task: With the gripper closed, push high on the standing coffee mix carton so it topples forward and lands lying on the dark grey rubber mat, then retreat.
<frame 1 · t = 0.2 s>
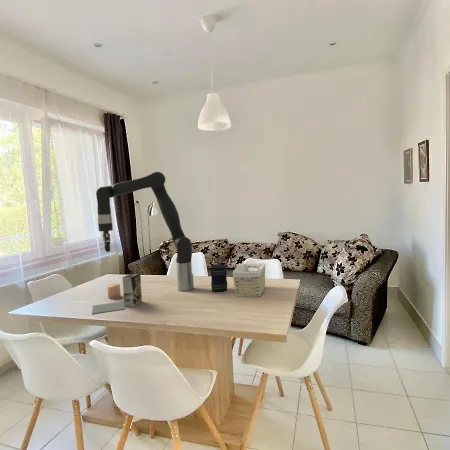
hand: (107, 250, 186), 29 cm above the table, fingers open, 8 cm apart
peach rounded knob: (114, 297, 195), on the table
mat: (108, 307, 175), on the table
storage basket: (250, 291, 193), on the table
coffee box: (133, 304, 180), on the table
storage jar: (219, 290, 199), on the table
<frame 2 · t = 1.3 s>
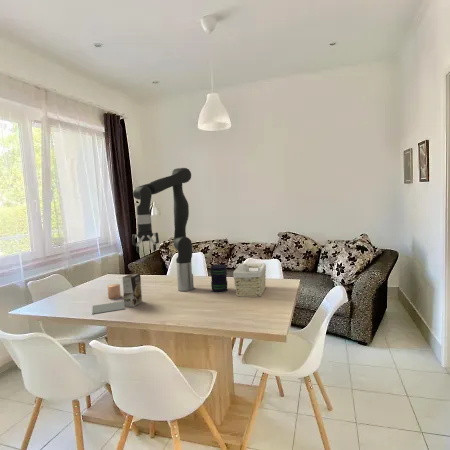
hand: (146, 252, 181), 28 cm above the table, fingers open, 8 cm apart
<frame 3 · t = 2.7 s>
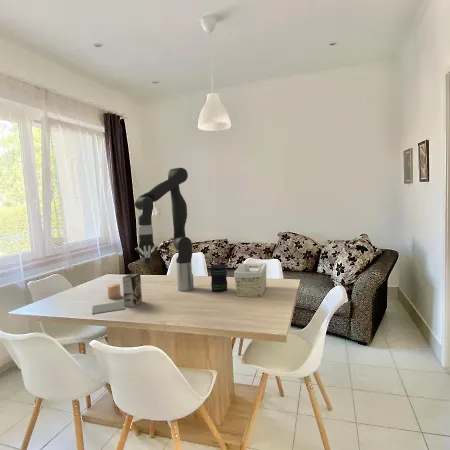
hand: (147, 264, 182), 21 cm above the table, fingers closed
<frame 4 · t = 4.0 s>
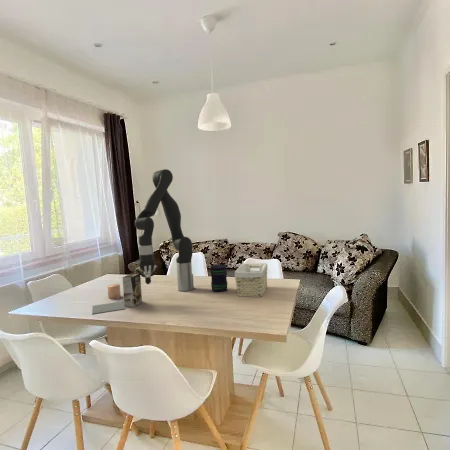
hand: (148, 283, 182), 10 cm above the table, fingers closed
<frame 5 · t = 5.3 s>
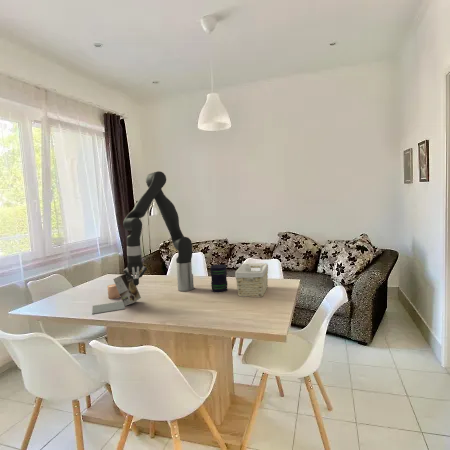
hand: (136, 285, 180), 10 cm above the table, fingers closed
coffee box: (133, 302, 180), point 1 cm above the table
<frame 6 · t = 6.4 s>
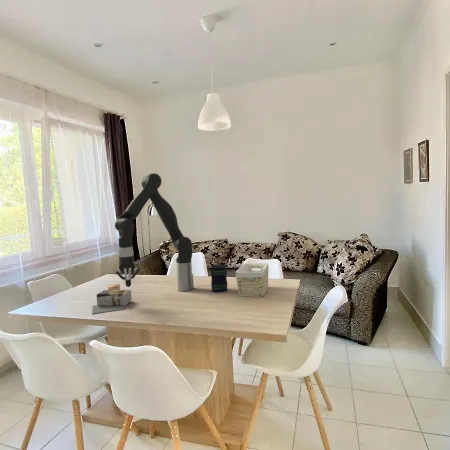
hand: (128, 286, 178), 10 cm above the table, fingers closed
coffee box: (128, 297, 180), point 4 cm above the table, touching mat
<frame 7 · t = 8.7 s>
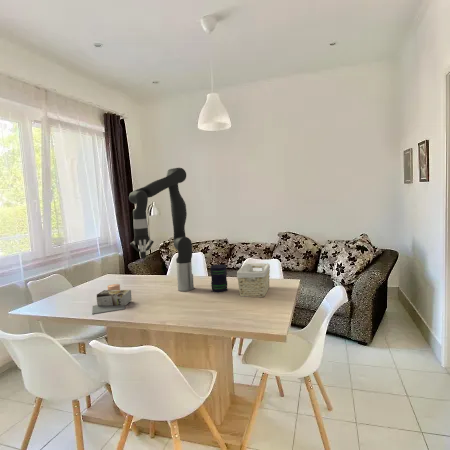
hand: (143, 258, 180), 25 cm above the table, fingers closed
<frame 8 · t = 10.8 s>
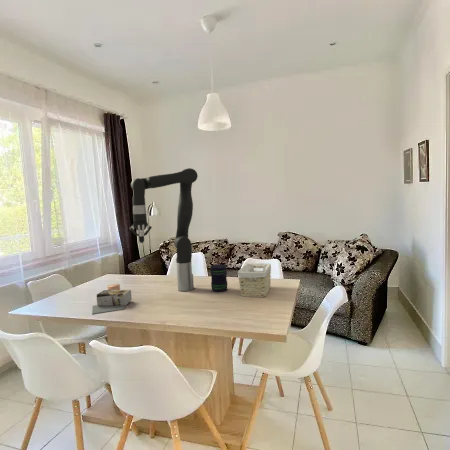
hand: (141, 242, 192), 32 cm above the table, fingers closed
at the end: coffee box tilted 90°; coffee box inside the target area (10.5 cm from its centre), point 3.6 cm above the table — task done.
